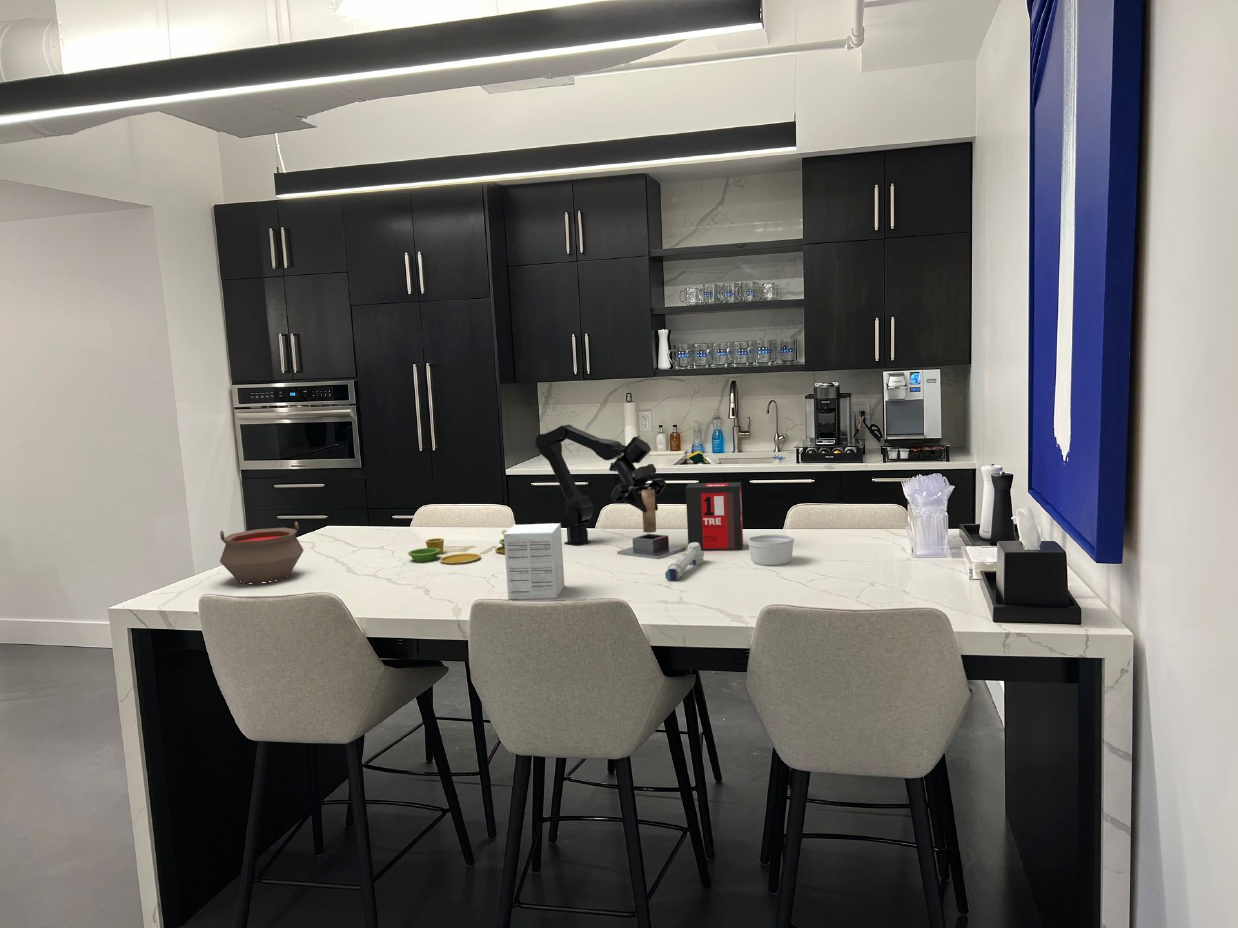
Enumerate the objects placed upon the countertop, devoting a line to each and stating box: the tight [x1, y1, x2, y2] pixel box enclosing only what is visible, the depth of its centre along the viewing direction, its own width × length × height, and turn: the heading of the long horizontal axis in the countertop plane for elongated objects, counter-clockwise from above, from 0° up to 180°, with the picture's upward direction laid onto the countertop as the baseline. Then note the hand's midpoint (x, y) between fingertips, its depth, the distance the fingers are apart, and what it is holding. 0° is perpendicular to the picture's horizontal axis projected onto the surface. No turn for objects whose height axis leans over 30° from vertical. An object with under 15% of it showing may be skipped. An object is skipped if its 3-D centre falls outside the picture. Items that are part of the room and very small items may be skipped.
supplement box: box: [503, 522, 566, 600], centre depth 244 cm, size 13×13×18 cm
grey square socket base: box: [616, 533, 686, 560], centre depth 288 cm, size 16×14×5 cm
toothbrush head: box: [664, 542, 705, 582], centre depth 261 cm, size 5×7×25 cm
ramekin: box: [747, 533, 795, 566], centre depth 266 cm, size 13×13×7 cm
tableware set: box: [407, 529, 508, 565], centre depth 297 cm, size 41×28×6 cm
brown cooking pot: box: [219, 521, 305, 584], centre depth 279 cm, size 24×24×16 cm
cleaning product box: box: [685, 481, 744, 552], centre depth 288 cm, size 16×9×20 cm, turn 80°
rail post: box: [641, 489, 657, 534], centre depth 287 cm, size 4×4×13 cm
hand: (651, 510), depth 285 cm, fingers closed on rail post, 4 cm apart
